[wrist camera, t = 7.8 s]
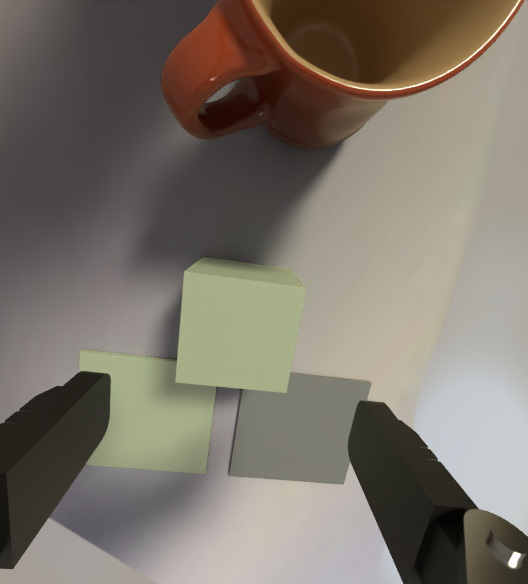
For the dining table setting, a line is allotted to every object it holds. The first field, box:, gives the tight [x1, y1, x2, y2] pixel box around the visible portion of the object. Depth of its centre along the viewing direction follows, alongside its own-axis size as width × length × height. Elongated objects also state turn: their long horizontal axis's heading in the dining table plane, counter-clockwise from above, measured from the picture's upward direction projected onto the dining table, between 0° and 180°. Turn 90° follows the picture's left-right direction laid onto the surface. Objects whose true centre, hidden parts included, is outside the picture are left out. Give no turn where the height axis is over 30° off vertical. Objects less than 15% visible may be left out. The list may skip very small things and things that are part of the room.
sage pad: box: [80, 349, 217, 474], centre depth 21 cm, size 10×10×1 cm
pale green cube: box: [175, 257, 306, 393], centre depth 17 cm, size 6×6×6 cm
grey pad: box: [229, 373, 371, 484], centre depth 23 cm, size 10×10×1 cm
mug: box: [161, 0, 525, 149], centre depth 12 cm, size 12×9×10 cm
